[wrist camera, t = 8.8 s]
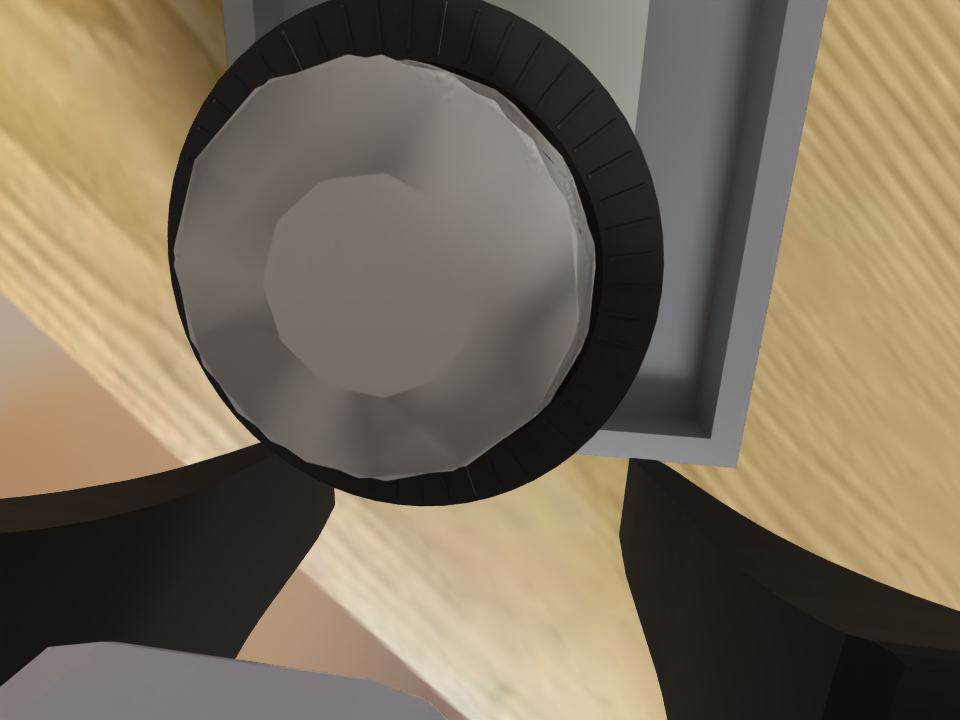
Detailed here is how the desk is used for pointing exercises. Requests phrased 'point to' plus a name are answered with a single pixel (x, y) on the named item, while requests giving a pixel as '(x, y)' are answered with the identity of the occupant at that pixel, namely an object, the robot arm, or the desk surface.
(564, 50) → the push button
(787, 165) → the pin tray
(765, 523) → the desk surface
